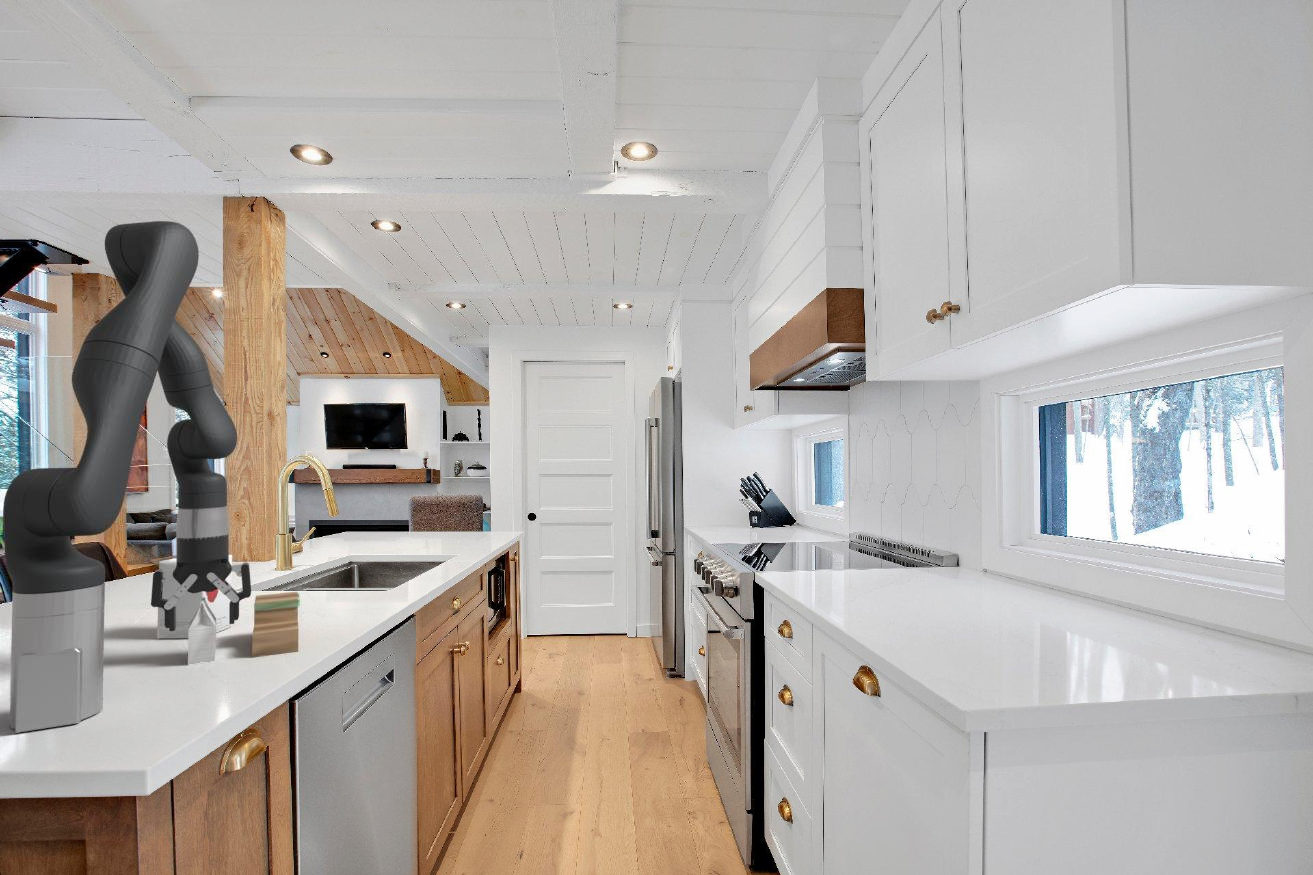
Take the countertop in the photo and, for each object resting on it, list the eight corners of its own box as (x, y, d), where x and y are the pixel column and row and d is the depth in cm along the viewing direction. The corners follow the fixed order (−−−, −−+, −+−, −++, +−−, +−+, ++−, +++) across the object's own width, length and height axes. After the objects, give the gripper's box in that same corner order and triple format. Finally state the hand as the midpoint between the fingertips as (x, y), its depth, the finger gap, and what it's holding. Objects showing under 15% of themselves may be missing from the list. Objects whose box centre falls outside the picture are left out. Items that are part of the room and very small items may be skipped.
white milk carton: (215, 651, 118) (216, 595, 118) (214, 661, 112) (215, 602, 113) (190, 655, 116) (191, 598, 116) (188, 665, 110) (188, 605, 111)
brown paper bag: (300, 650, 118) (300, 605, 118) (252, 657, 114) (252, 610, 115) (298, 631, 131) (298, 591, 131) (255, 637, 127) (256, 595, 128)
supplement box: (201, 639, 126) (203, 560, 127) (155, 639, 126) (156, 561, 127) (233, 627, 135) (233, 553, 136) (189, 627, 135) (190, 554, 136)
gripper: (148, 539, 108) (148, 638, 108) (250, 532, 115) (250, 625, 115) (155, 533, 115) (155, 627, 114) (251, 528, 122) (251, 616, 122)
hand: (203, 626), depth 115 cm, fingers open, 8 cm apart
